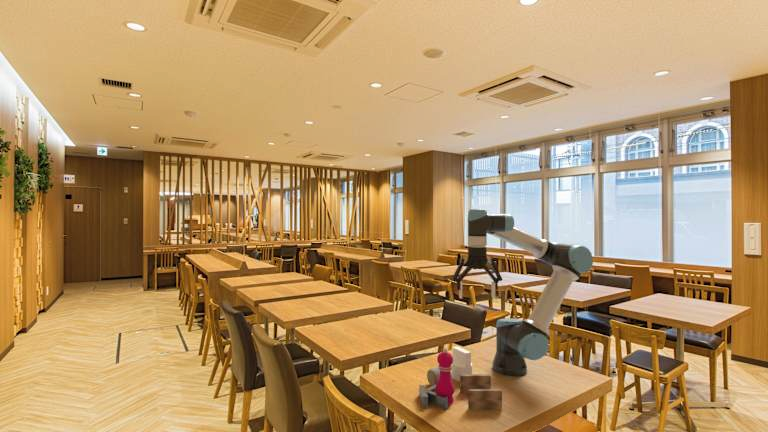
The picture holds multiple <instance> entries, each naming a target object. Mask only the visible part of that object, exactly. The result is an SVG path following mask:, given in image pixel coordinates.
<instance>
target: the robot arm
mask: <svg viewBox="0 0 768 432" xmlns="http://www.w3.org/2000/svg"><path fill="white" fill-rule="evenodd" d="M467 213H468V215H467V245H468V246H467V258H463V257H461V258H459V263H458V266H457V268H456V270H455V272H454V273H453V276H452V278H451V280H452V281H454V282H456V290H458V298H459V299H461V300H462V299H463V282H462V280H464V278H465V277H466V276H467V275H468V273H469V272H470V271H472V269H473V270H484V271H485V272H486V274H487V275H488V276H489V277H490V278H491V280H492V281H491V298H492V299H496V291H497V290H498V289H499V288H498V286H499V285H498V283H499V282H502V280H503V277H502V275H501V273H500V271H499V269H498V268H497V267H498V266H497V265H496V262H495V258H493V257H490V258H487V253H488V251H487V244H488V243H487V242H488V241H487V240H488V239H487V237H488V236H487V234H488V235H491V236H493V237H496V238H497V239H500V240H502V241H504V242H506V243H509V244H510V245H512V246H515V247H517V248H518V249H519V248H520V249H521V250H523V251H526V252H528V253H530V254H532V255H533V257H534V258H536V259H538V260H540V261H541V262H543V263H545V264H548V265H549V266H552V267H551V268H552V271H553V272H552V273H551V275H550V278H549V280H548V281H547V282H546V285H545V287H544V289H543V290H542V293H541V295H540V296H539V298H538V299H537V302H536V303H535V305H534V307H533V309H532V311H531V312H530V314H529V316H528V318H526V319H520V318H514V317H513V318H499V319H497V321H496V326H495V328H496V329H495V330H496V332H495V333H496V336H495V337H496V343H495V344H496V351H495V354H494V358H493V360H492V369H493V371H495V372H496V373H499V374H502V375H506V376H515V377H516V376H517V377H518V376H523V375H526V374H527V373H528V366H527V362H526V359H527V360H530V361H538V360H540V359H542V358H543V357H545V356H546V355H547V352H548V351H549V347H550V346H549V339H548V338H549V336H550V333H549V331H548V329H549V327H550V325H551V323H552V321H553V319H554V317H555V316H556V314H557V312H558V310H559V308H560V306H561V305H562V304H563V303H562V302H563V300H564V299H565V297H566V295H567V293H568V291H569V290H570V287H571V285H572V284H573V282H574V281H578V280H579V279H580V277H581V275H582V274H585V273H588V272H589V271H591V269H592V267H593V265H594V257H593V255H592V252H591V251H590V249H589V248H588V247H586V246H585V245H581V244H577V243H575V244H572V243H564V242H553V241H551V240H547V239H545V238H541V239H540V238H538V237H535V236H534V235H532V234H529V233H528V232H525V231H523V230H521V229H519V228H516V227H515V219H514V216H513V215H512V214H509V213H488V211H487V209H486V208H484V209H483V208H477V209H476V208H475V209H474V208H473V209H469V210H468V212H467ZM466 263H467V266H466V268H465V269H464V270H463V271H462V269H463V267H464V265H465V264H466ZM487 264H490V266H491V268H492V270H493V272H494V274H493V272H492V271H491V270H490V269H489V268H488V266H487ZM461 271H462V272H461Z"/></svg>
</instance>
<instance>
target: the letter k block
mask: <svg viewBox="0 0 768 432" xmlns="http://www.w3.org/2000/svg"><path fill="white" fill-rule="evenodd" d="M418 388H419V390H418V391H419V392H418V393H419V394H418V395H419V400H420V403H421V408H423V409H424V408H427V409H429V405H432V406H434V407H437V408H439V409H442V410H444V411H446V410H447V409H449V405H448V397H446V396H443V395H440V394H438V393H436V390H435V389H436V384H435V385H433V386H431V385H430V387H428V388H426V386H425V385H424V384H419V385H418Z"/></svg>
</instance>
